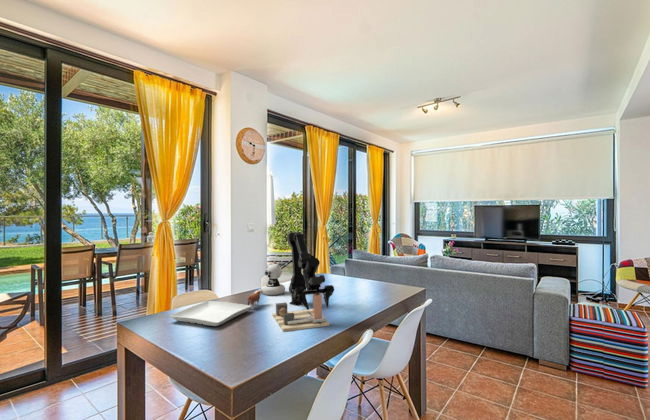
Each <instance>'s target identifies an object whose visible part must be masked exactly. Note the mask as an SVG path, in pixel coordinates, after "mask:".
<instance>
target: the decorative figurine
mask: <svg viewBox="0 0 650 420" xmlns="http://www.w3.org/2000/svg"><path fill="white" fill-rule="evenodd" d="M266 265H267V268H266V270H265V271H264V275H265V276H267V277H268V281H267V283H266V284H264V285H263V286H262V287H261V288H260V289H261V290H262V291H263V293H264V294H263V295H266V296H278V295H281V294H284V293H285V291H286V287H285V285H283V284H281V283H280V281H279V278H280V277H281V275H282V272H283V269H282V268H281V266H280V261H278V262H277V263H273V264H269V263H268V262H267V263H266Z"/></svg>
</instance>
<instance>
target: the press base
mask: <svg viewBox="0 0 650 420" xmlns="http://www.w3.org/2000/svg"><path fill="white" fill-rule="evenodd" d="M286 313H294V319H299V318H307V317H309V316H312V315H313V308H309V310H307V309H300V310H292V311H291V310H290V311H288V303H287V302H278V303H275V312H273V313H272V317H273V319H274V321H275V322H276V323H277V325H278V326H279V327H280V329H281V331H282V332H283V333H284V332H290V331H291V332H292V331H298V330H304V329H312V328H319V327H320V328H321V327H328V326H330V325H331V324H330V322H329V321H328V320H327V319H326V321H325V322H317V323H313V322H304V323H297V324H289V325H288V324H284V323H283V314H286Z"/></svg>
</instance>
